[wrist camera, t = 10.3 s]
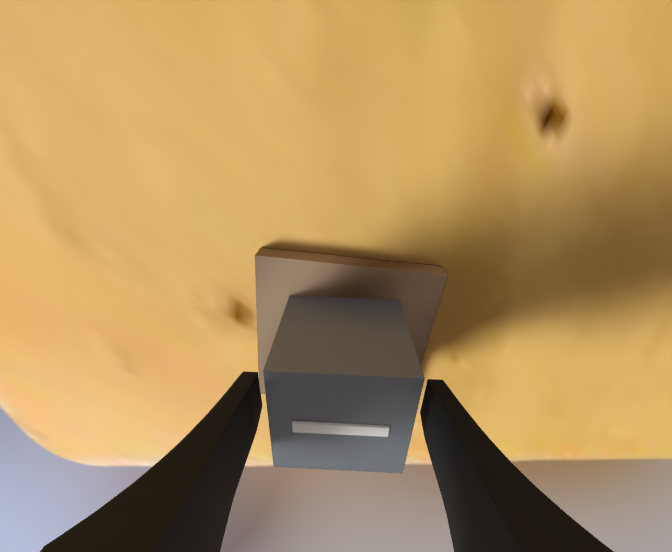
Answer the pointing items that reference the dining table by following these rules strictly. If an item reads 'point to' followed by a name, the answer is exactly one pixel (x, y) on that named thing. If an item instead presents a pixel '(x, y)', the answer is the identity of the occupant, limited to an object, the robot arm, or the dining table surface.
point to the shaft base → (343, 290)
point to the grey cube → (342, 385)
